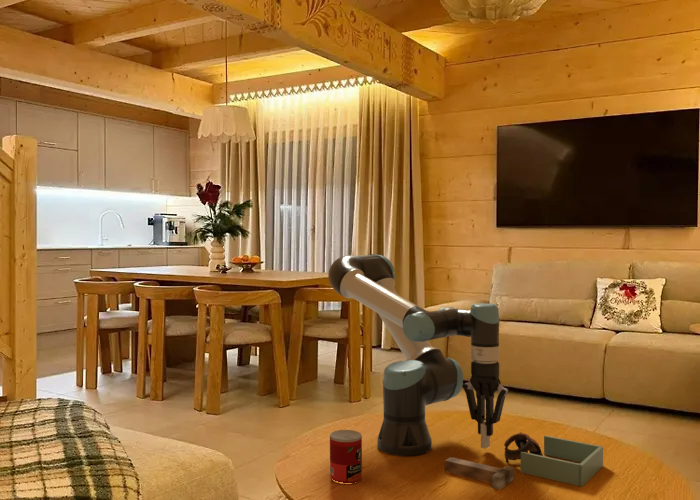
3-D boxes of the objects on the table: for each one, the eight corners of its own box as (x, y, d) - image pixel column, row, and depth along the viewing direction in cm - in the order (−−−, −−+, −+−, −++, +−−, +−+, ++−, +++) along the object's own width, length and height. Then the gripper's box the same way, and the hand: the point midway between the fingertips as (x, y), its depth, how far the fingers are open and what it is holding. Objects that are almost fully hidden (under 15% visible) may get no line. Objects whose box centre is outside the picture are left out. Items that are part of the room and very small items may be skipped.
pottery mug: (550, 469, 165) (537, 444, 163) (516, 483, 167) (502, 459, 165) (539, 442, 177) (527, 419, 175) (507, 456, 178) (494, 432, 177)
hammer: (440, 475, 161) (440, 463, 161) (455, 465, 168) (455, 454, 168) (500, 490, 152) (500, 477, 152) (514, 479, 158) (514, 467, 158)
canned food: (351, 487, 154) (351, 441, 153) (323, 480, 158) (323, 436, 157) (368, 476, 160) (367, 432, 160) (340, 470, 164) (340, 427, 164)
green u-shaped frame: (520, 472, 162) (520, 452, 162) (545, 453, 175) (545, 435, 175) (582, 486, 153) (582, 465, 153) (603, 465, 166) (603, 446, 166)
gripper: (457, 360, 177) (457, 445, 178) (501, 365, 169) (502, 455, 170) (469, 355, 183) (470, 438, 184) (513, 361, 175) (513, 447, 176)
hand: (485, 446), depth 177 cm, fingers closed
